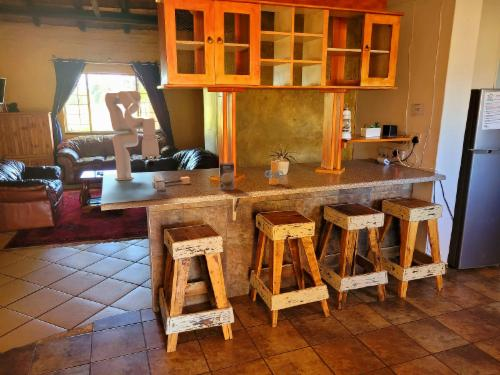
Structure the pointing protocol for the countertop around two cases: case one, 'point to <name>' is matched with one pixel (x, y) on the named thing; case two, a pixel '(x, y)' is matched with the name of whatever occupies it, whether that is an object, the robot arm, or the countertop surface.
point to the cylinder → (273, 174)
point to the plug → (176, 181)
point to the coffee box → (226, 176)
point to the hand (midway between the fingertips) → (151, 166)
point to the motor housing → (159, 182)
